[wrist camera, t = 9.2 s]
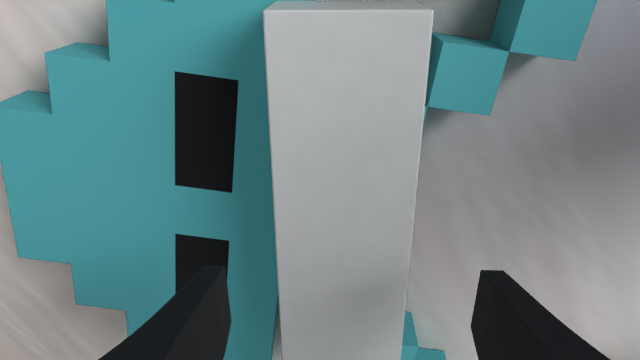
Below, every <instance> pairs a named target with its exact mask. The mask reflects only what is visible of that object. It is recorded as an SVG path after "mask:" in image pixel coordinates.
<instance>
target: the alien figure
mask: <svg viewBox="0 0 640 360" xmlns="http://www.w3.org/2000/svg"><path fill="white" fill-rule="evenodd" d="M276 1H315V0H106V9H107V24H108V40H109V47H107V46H100V45H93V44H85V43H78V42H77V43H74V44H71V45H68V46H65V47H62V48H59V49H56V50H52V51H49V52H46V53H45V59H46V67H47V75H48V83H49V91H50V94H49V93H42V92H35V91H25V92H23V93H21V94H18V95H16V96H14V97H11V98H9V99H7V100H4V101H2V102H0V160H1V165H2V171H3V176H4V182H5V187H6V192H7V198H8V203H9V209H10V214H11V220H12V225H13V230H14V236H15V241H16V247H17V252H18V257H21V258H29V259H37V260H45V261H53V262H60V263H68V264H71V267H72V275H73V283H74V291H75V299H76V304H78V305H86V306H94V307H102V308H110V309H118V310H126V318H127V334H128V337H129V336H130V335H131V334H133V333H134V332H135V331H136V330H137V329H138V328H139V327H141V326H142V325H143V324H144V323H145V322H146V321H147V320H149V319H150V318H151V317H152V316H153V315H154V314H155V313H156V312H157V311H158V310H159V309H160V308H161V307H163V306H164V305H165V304H166V303H167V302H168V301H169V300H170V299H171V298H172V297H173V296H174V295H175V294H176V293H177V292H178V291H179V290H180V289H181V288H182V287H183V286H184V285H185V284H186V283H187V282H188V281H189V280H190V279H191V278H192V277H193V276H194V275H195V274H196V273H197V272H198V271H199V270H200V269H201V268H202V267H203V266H204V265H209V266H225V269H226V278H227V287H228V295H229V304H230V312H231V327H230V332H229V337H228V342H227V347H226V351H225V355H224V359H223V360H271V359H272V351H273V343H274V335H275V326H276V318H277V310H278V302H279V296H278V278H277V260H276V242H275V225H274V207H273V189H272V171H271V153H270V136H269V118H268V100H267V82H266V64H265V46H264V29H263V10H265V9H266V8H267V7H269V6H270V5H272V4H273V3H274V2H276ZM596 3H597V0H501V2H500V5H499V9H498V12H497V16H496V19H495V23H494V26H493V30H492V33H491V37H490V40H489V41H486V40H479V39H472V38H465V37H458V36H452V35H445V34H438V33H432V38H431V48H430V59H429V69H428V79H427V90H426V100H425V110H424V120H425V116H426V112H427V108H428V107H433V108H440V109H447V110H454V111H461V112H468V113H475V114H482V115H489V116H490V113H491V110H492V107H493V103H494V100H495V97H496V94H497V90H498V87H499V84H500V81H501V77H502V74H503V71H504V68H505V65H506V61H507V58H508V55H509V52H515V53H522V54H529V55H535V56H542V57H549V58H556V59H563V60H570V61H575V59H576V56H577V54H578V51H579V48H580V46H581V43H582V40H583V38H584V35H585V32H586V30H587V27H588V24H589V21H590V19H591V16H592V13H593V11H594V8H595V5H596ZM423 124H424V121H423ZM400 360H446V357H445V353H444V351H440V350H432V349H424V348H418V342H417V338H416V333H415V328H414V323H413V319H412V314H411V313H406V312H405V318H404V328H403V338H402V349H401V359H400Z"/></svg>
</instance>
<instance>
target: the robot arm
mask: <svg viewBox="0 0 640 360" xmlns="http://www.w3.org/2000/svg"><path fill="white" fill-rule="evenodd" d="M230 327H231V312H230V304H229V295H228V287H227V278H226V269H225V266H209V265H204V266H203V267H202V268H201V269H200V270H199V271H198V272H197V273H196V274H195V275H194V276H193V277H192V278H191V279H190V280H189V281H188V282H187V283H186V284H185V285H184V286H183V287H182V288H181V289H180V290H179V291H178V292H177V293H176V294H175V295H174V296H173V297H172V298H171V299H170V300H169V301H168V302H167V303H166V304H165V305H164V306H163V307H161V308H160V309H159V310H158V311H157V312H156V313H155V314H154V315H153V316H152V317H151V318H150V319H149V320H147V321H146V322H145V323H144V324H143V325H142V326H141V327H139V328H138V329H137V330H136V331H135V332H134V333H133V334H131V335H130V336H129V337H128V338H126V339H125V340H124V341H123V342H121V343H120V344H119V345H118V346H116V347H115V348H113V349H112V350H111V351H109V352H108V353H107V354H105V355H104V356H103V357H101V358H100V359H98V360H223V359H224V355H225V351H226V347H227V342H228V337H229V332H230ZM471 330H472V334H473V338H474V343H475V347H476V351H477V355H478V359H479V360H610V359H609V358H607V357H606V356H605V355H603V354H602V353H600V352H599V351H598V350H596V349H595V348H594V347H592V346H591V345H590V344H588V343H587V342H586V341H585V340H583V339H582V338H581V337H579V336H578V335H577V334H576V333H574V332H573V331H572V330H571V329H569V328H568V327H567V326H566V325H564V324H563V323H562V322H561V321H560V320H558V319H557V318H556V317H555V316H554V315H553V314H551V313H550V312H549V311H548V310H547V309H546V308H544V307H543V306H542V305H541V304H540V303H539V302H538V301H537V300H535V299H534V298H533V297H532V296H531V295H530V294H529V293H528V292H527V291H525V290H524V289H523V288H522V287H521V286H520V285H519V284H518V283H517V282H516V281H514V280H513V279H512V278H511V277H510V276H509V275H508V274H506V273H505V272H504V271H497V270H481V272H480V278H479V283H478V289H477V295H476V300H475V306H474V311H473V317H472V322H471Z"/></svg>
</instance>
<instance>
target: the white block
mask: <svg viewBox="0 0 640 360" xmlns="http://www.w3.org/2000/svg"><path fill="white" fill-rule="evenodd" d="M433 17H434V10H432V9H431V8H429V7H427V6H425V5H423V4H421V3H419V2H417V1H415V0H342V1H276V2H274V3H273V4H272V5H270V6H269V7H267V8H266V9H265V10H263V29H264V46H265V64H266V82H267V100H268V118H269V136H270V153H271V171H272V189H273V207H274V225H275V242H276V260H277V278H278V296H279V314H280V332H281V349H282V360H400V359H401V349H402V338H403V328H404V318H405V307H406V297H407V286H408V276H409V266H410V255H411V245H412V235H413V224H414V214H415V204H416V193H417V183H418V173H419V162H420V152H421V141H422V131H423V121H424V110H425V100H426V90H427V79H428V69H429V59H430V48H431V38H432V28H433Z"/></svg>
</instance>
